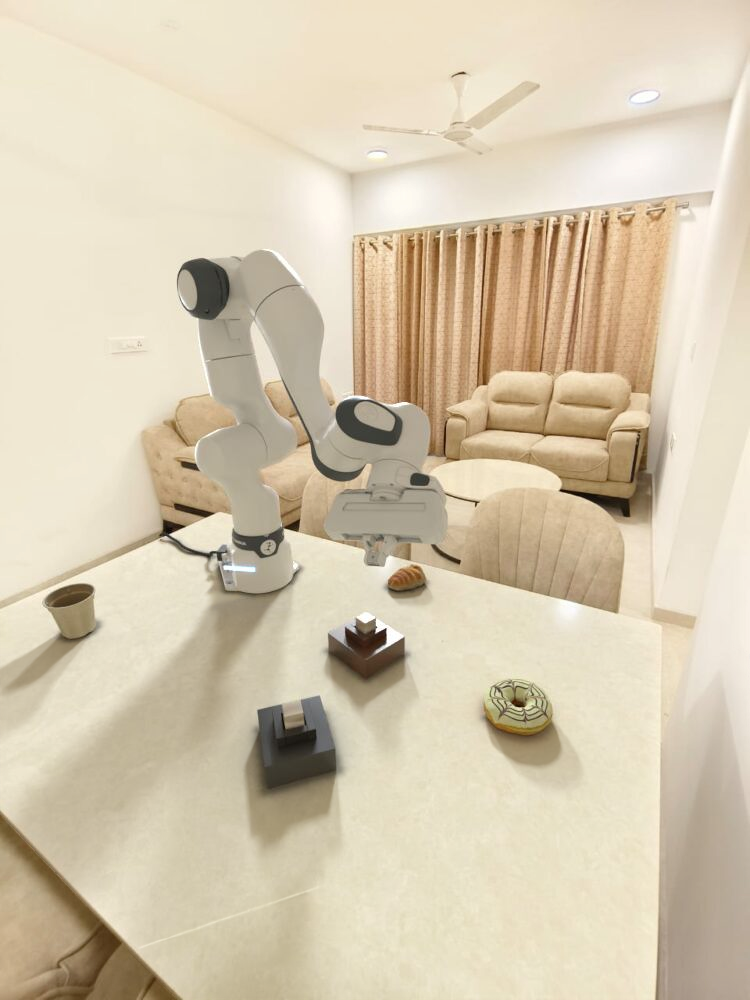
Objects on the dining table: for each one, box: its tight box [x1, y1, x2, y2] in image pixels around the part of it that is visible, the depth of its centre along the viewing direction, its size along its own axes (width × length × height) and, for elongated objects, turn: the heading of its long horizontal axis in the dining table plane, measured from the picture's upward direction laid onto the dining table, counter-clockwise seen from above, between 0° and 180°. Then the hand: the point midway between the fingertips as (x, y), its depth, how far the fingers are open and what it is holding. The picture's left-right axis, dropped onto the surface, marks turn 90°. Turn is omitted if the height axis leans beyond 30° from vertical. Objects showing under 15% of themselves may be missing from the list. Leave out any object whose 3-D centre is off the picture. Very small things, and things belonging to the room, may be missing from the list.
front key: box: [281, 699, 305, 730], centre depth 74 cm, size 3×3×2 cm
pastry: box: [387, 563, 427, 592], centre depth 120 cm, size 9×7×4 cm
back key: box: [354, 611, 377, 634], centre depth 95 cm, size 3×3×2 cm
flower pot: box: [42, 582, 97, 640], centre depth 103 cm, size 9×9×9 cm
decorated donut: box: [483, 677, 554, 736], centre depth 81 cm, size 10×11×4 cm
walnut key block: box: [327, 618, 406, 680], centre depth 96 cm, size 11×10×6 cm
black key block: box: [256, 695, 337, 790], centre depth 75 cm, size 11×10×6 cm
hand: (373, 564), depth 76 cm, fingers closed
